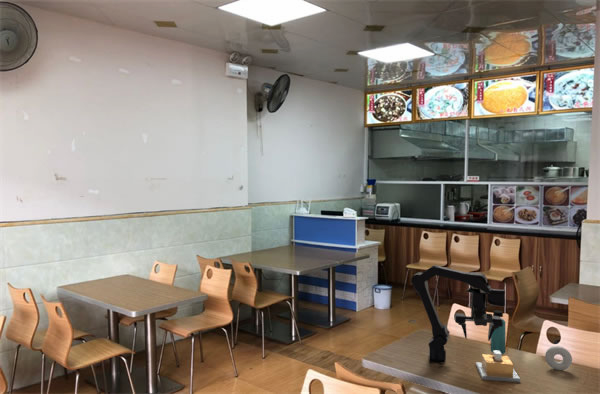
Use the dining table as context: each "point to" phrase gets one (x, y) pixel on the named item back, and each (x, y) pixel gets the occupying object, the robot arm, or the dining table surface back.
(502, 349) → the beverage bottle
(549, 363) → the donut
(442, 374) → the dining table surface
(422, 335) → the dining table surface
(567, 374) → the dining table surface
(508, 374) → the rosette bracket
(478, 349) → the dining table surface
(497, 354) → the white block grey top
